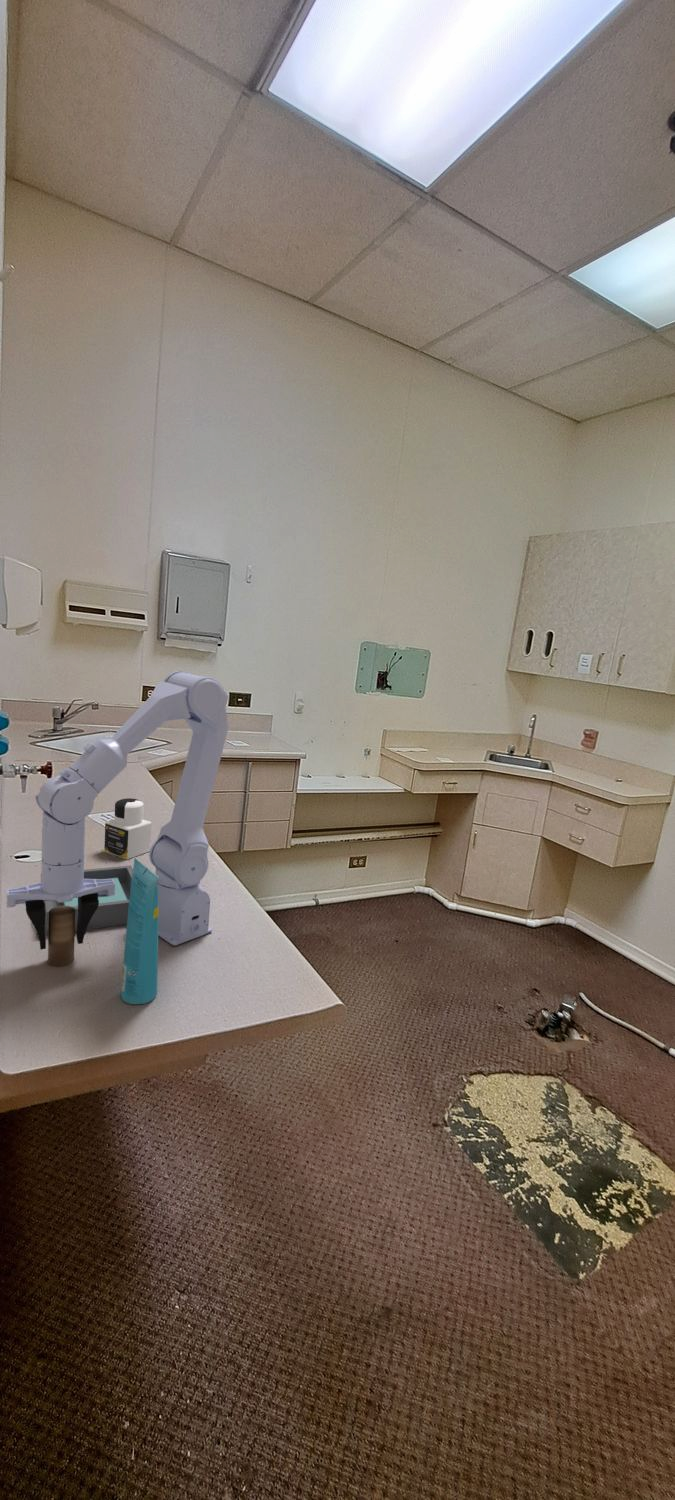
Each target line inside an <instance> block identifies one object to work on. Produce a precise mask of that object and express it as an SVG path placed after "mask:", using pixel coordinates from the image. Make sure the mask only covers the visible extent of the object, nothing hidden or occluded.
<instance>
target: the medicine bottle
mask: <svg viewBox="0 0 675 1500" xmlns="http://www.w3.org/2000/svg"><path fill="white" fill-rule="evenodd" d="M144 805H145V804H144V802H143V801H142V800H139V799H138V798H130V797H129V798H122V799H118V800H117V801H116V802H115V803H114V819H111V820H106V821H105V822H104V823H105V824H104V849H103V851H104V852H105V853H107V854H110V855H112V856H116V857H118V858H121V859H124V860H129V859H133V858H135V857H138V856H141V855H143V854H144V855H145V854H147V853H150V849H151V845H152V844H151V842H152V821H149V820H146V819H144V809H145V807H144Z"/></svg>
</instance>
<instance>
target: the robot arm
mask: <svg viewBox="0 0 675 1500" xmlns="http://www.w3.org/2000/svg"><path fill="white" fill-rule="evenodd" d="M228 699H229V695H228V694H227V692H226V691H225V689H224V687H222V684H221V683H220V681H218V680H217V679H215V678H213V677H211V676H210V677H208V676H202V675H196V674H192V673H189V672H187V671H183V670H177V671H172V672H171V673H169V674H168V675H167V676H166V677H165V678H164V680H163V681H160V682H159V683H157V684H156V686H155V687H154V689H153V690H152V693H151V695H149V697H148V698H147V699H146V700H145V701H144V702H143V703H142V704H141V705H140V707H138V709H136V711H135V712H134V713H133V714H132V715H131V716H130V717H129V718H128V719H127V720H126V721H125V722H124V724H123V725H122V726H121V727H120V728H119V729H118V730H117V731H116V732H115V733H114V734H113V735H111V736H112V737H110V738H107V739H97V740H96V741H94V742H93V743H92V742H88V743H86V745H85V746H84V747H83V750H84V752H83V753H82V754H81V755H80V756H78V758H77V759H75V760H74V761H73V762H72V763H71V764H69V766H68V767H67V768H64V767H63V768H62V769H61V770H60V771H59V772H58V773H59V774H60V775H57V776H55V777H50V778H48V779H47V780H45V782H44V783H42V785H41V787H40V788H39V792H38V793H37V794H35V802H36V804H37V806H38V808H39V809H41V811H42V825H41V826H42V829H41V872H40V882H36V883H34V884H33V883H32V884H30V885H29V884H28V885H24V886H21V887H16V888H7V889H6V908H13V907H16V906H17V905H22V904H23V905H25V912H26V914H27V917H28V919H29V920H30V921H31V924H32V925H33V927H34V929H35V931H36V934H37V937H38V940H39V947H40V948H39V949H40V950H46V949H47V948H46V947H47V941H46V940H47V939H46V928H45V916H46V912H45V903H44V901H51V900H57V902H69V901H72V900H73V898H78V921H77V931H75V933H76V934H75V935H76V940H77V941H76V942H77V944H78V945H80V944H83V943H84V939H85V934H86V931H87V930H88V929H87V926H88V924H89V922H90V920H91V918H92V916H93V914H94V913H95V911H96V910H97V908H98V905H99V900H98V895H104V894H107V896H112V895H115V882H114V880H113V879H84V870H85V841H86V840H85V838H86V817H87V816H89V815H90V814H91V812H92V811H93V808H94V803H95V799H96V798H97V797H98V795H99V794H100V793H101V792H102V791H103V790H104V789H105V788H106V787H107V786H108V785H109V784H110V783H111V782H112V781H113V780H114V779H115V778H116V777H118V775H120V773H121V772H122V771H124V769H126V767H127V765H128V755H129V754H130V753H131V752H132V751H134V749H135V748H137V747H138V746H139V745H140V744H142V743H143V741H145V740H146V739H147V738H148V737H150V735H152V734H153V733H154V732H155V731H157V730H158V729H159V728H160V727H161V726H162V725H163V724H165V723H166V722H167V721H175V720H176V721H177V720H185V722H186V723H187V725H188V726H189V728H190V729H191V731H192V736H191V740H190V743H189V747H188V750H187V751H188V752H187V755H186V760H185V764H184V766H183V771H182V776H181V780H180V782H179V786H178V790H177V794H176V798H175V803H174V806H173V810H172V815H171V819H170V820H169V821H168V822H167V823H166V824H164V825H163V826H161V827H160V830H159V834H158V836H157V838H156V840H155V841H154V842H153V843H152V844H151V846H150V851H149V855H148V856H149V861H150V863H151V864H152V866H153V867H155V874H156V875H157V876H158V877H159V879H158V881H157V883H158V937H160V938H161V939H163V941H166V942H167V943H169V945H172V946H178V945H182V944H184V943H185V942H188V941H191V940H194V939H196V938H199V937H202V936H204V935H206V934H207V935H208V934H209V933H211V932H213V929H212V927H210V926H209V922H210V908H211V898H210V895H209V894H208V892H207V891H205V890H204V888H203V887H202V885H201V881H202V880H203V879H204V877H205V875H206V874H207V872H208V868H209V860H208V859H209V858H208V852H209V851H208V850H209V846H210V844H209V841H208V838H207V835H206V834H205V832H204V825H205V820H206V816H207V813H208V809H209V805H210V802H211V797H212V793H213V790H214V785H215V781H216V778H217V773H218V770H219V766H220V761H221V758H222V756H223V755H222V754H223V751H224V746H225V742H226V738H227V734H228V730H229V724H228V723H229V722H228V716H227V711H226V708H227V703H228ZM86 929H87V930H86Z"/></svg>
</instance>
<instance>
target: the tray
mask: <svg viewBox="0 0 675 1500" xmlns="http://www.w3.org/2000/svg"><path fill="white" fill-rule="evenodd" d="M132 873H133V866H132V864H131V865H121V866H109V867H99V868H90V869H87V868H86V869H84V879H113V880H114V882H115V895H112V896H107V894H104V895H98V900H99V905H98V908H97V910H96V911H95V913H94V914H93V916H92V918H91V920H90V922H89V924H88V926H87V929H86V931H87V930H92V929H100V928H107V927H115V926H121V925H127V919H128V908H129V898H130V888H131V880H132ZM44 903H45V912H46V916H45V936H48V931H49V911H50V910H51V909H52V908H55V907H58V906H71V907H73V908H75V932H76V931H77V921H78V898H73V900H72V901H69V902H57V900H51V901H44Z"/></svg>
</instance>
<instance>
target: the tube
mask: <svg viewBox="0 0 675 1500" xmlns="http://www.w3.org/2000/svg"><path fill="white" fill-rule="evenodd" d="M133 858H134V860H133V861H134V862H133V866H132V868H133V873H132V880H131V888H130V898H129V908H128V919H127V924H126V931H125V943H124V952H123V953H124V954H123V967H122V977H121V989H120V999H121V1000H122V1001H123V1002H125V1003H126V1004H129V1005H144V1004H147V1003H150V1002H151V1001H152V1000H154V999H155V998H156V997H157V995H158V994H157V993H158V970H159V969H158V968H159V963H158V962H159V936H158V883H157V881H158V879H159V877H158V876H157V875H156V873H154V872H153V871H152V870H151V869H149V868H148V867H147V866H146V865H145V864H144V863H142V862H141V861H140V860H138V859H137V858H135V857H133Z"/></svg>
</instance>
